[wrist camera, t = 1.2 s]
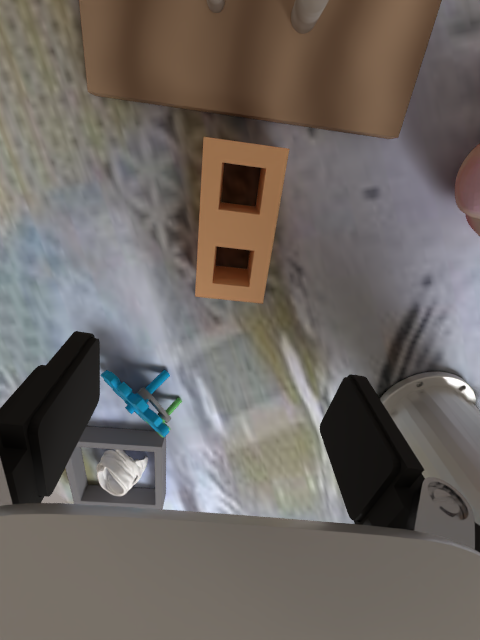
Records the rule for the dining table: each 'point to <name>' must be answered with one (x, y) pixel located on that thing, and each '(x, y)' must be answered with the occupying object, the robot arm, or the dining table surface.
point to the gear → (144, 401)
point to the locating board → (263, 58)
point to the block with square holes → (237, 220)
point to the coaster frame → (120, 441)
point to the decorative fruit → (469, 188)
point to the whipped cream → (119, 471)
